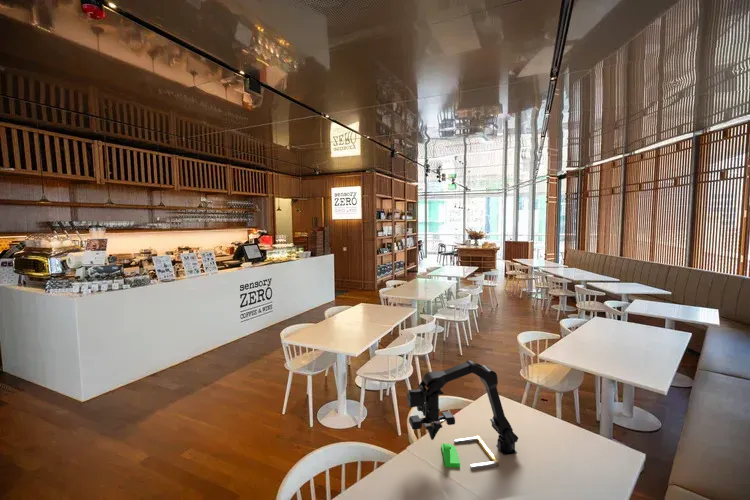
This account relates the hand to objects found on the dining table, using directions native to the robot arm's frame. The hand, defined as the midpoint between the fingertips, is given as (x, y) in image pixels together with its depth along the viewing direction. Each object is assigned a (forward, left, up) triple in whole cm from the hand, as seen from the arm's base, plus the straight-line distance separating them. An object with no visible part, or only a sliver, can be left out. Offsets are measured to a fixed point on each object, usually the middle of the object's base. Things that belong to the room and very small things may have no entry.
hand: (432, 439), depth 140 cm
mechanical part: (-8, 0, -10) cm, 13 cm away
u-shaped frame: (-20, 0, -9) cm, 22 cm away
